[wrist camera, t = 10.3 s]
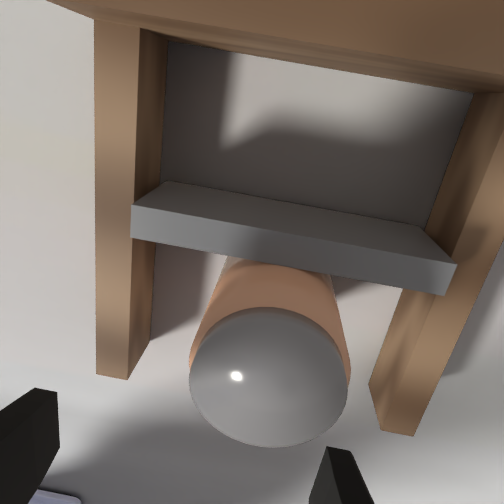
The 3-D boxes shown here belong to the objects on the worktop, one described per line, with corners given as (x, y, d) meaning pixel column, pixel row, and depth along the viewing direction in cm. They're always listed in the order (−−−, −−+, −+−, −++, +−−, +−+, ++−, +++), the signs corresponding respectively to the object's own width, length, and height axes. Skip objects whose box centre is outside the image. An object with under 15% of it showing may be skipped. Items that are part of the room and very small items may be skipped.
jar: (315, 326, 19) (331, 465, 12) (219, 308, 19) (176, 434, 12) (340, 235, 17) (376, 335, 10) (232, 215, 17) (190, 300, 10)
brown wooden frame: (396, 389, 20) (436, 501, 14) (122, 336, 20) (59, 425, 15) (531, 56, 14) (695, 27, 8) (132, -11, 14) (29, -82, 9)
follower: (409, 251, 16) (444, 295, 13) (165, 206, 17) (130, 237, 13) (418, 226, 16) (457, 264, 12) (167, 180, 16) (131, 204, 13)
